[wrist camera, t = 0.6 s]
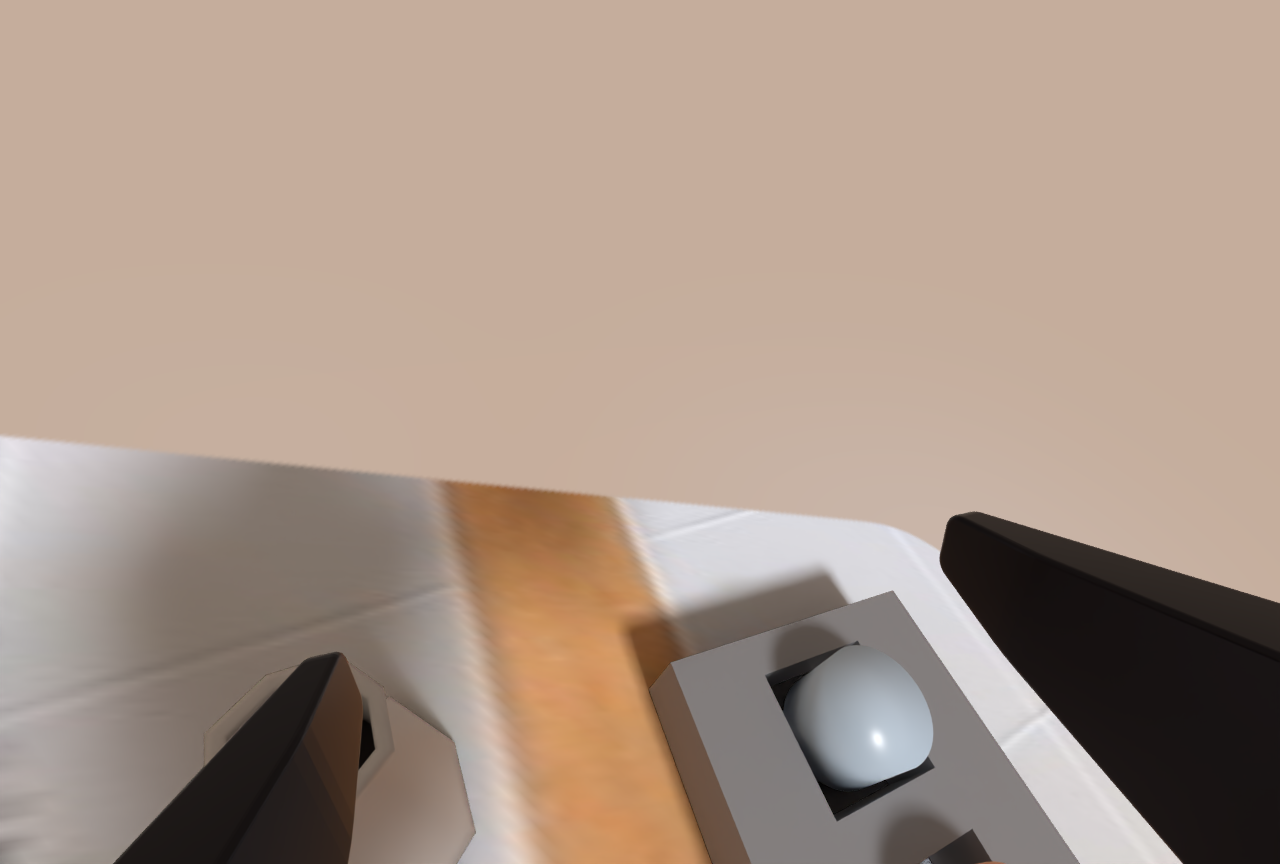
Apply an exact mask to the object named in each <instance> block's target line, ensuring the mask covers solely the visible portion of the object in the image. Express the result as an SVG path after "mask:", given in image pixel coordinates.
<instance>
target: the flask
mask: <svg viewBox="0 0 1280 864" xmlns="http://www.w3.org/2000/svg"><path fill="white" fill-rule="evenodd" d="M348 664H349V666H350V669H351V671H352V674H353V676H354V679H355V681H356V684H357V686H358V689H359V691H360V694H361V698H362V704H363V719H362V731H361V743H360V755H359V767H358V779H357V791H356V803H355V815H354V825H353V835H352V843H351V849H350V855H349V861H348V864H457V863H458V861H459V859H460V858H461V856H462V854H463V853H464V851H465V850H466V848H467V846H468V845H469V843H470V841H471V840H472V838H473V836H474V835H475V833H476V831H475V827H474V822H473V818H472V814H471V810H470V806H469V801H468V797H467V793H466V789H465V784H464V780H463V776H462V772H461V767H460V763H459V759H458V755H457V751H456V746H455V742H454V741H452V740H451V739H449V738H448V737H447V736H445V735H444V734H442V733H441V732H439V731H438V730H437V729H435V728H434V727H432V726H431V725H430V724H428V723H427V722H425V721H424V720H423V719H421V718H420V717H418V716H417V715H415V714H414V713H413V712H411V711H410V710H408V709H407V708H406V707H404V706H403V705H401V704H400V703H398V702H397V701H396V700H394V699H393V698H391V697H388V698H386V696H385V690H384V687H383V686H381V685H380V684H379V683H377V682H376V681H374V680H373V679H372V678H370V677H369V676H367V675H366V674H364V673H363V672H362V671H360V670H359V669H357V668H356V667H355V666H353V665H352V664H350V663H349V662H348ZM298 666H299V665H297V666H294V667H291V668H287V669H284V670H281V671H277V672H274V673H271V674H268V675H265V676H264V677H263V678H262V679H261V680H260V681H259V682H258V683H257V684H256V685H255V686H254V687H253V688H252V689H251V690H250V691H249V692H248V693H246V694H245V695H244V696H243V697H242V698H241V699H240V700H239V701H238V702H237V703H236V704H235V705H234V706H233V707H232V708H231V709H230V710H229V711H228V712H227V713H225V714H224V715H223V716H222V717H221V718H220V719H219V720H218V721H217V722H216V723H215V724H214V725H213V726H212V727H211V728H210V729H209V730H208V731H207V732H206V733H204V766H205V765H206V764H207V763H208V762H209V761H210V760H211V759H212V758H213V757H214V755H215V754H216V753H217V752H218V751H219V750H220V749H221V748H222V747H223V746H224V745H225V744H226V743H227V742H228V741H229V739H230V738H231V737H232V736H233V735H234V734H235V733H236V732H237V731H238V730H239V729H240V728H241V727H242V726H243V725H244V723H245V722H246V721H247V720H248V719H249V718H250V717H251V716H252V715H253V714H254V713H255V712H256V711H257V710H258V709H259V707H260V706H261V705H262V704H263V703H264V702H265V701H266V700H267V699H268V698H269V697H270V696H271V695H272V694H273V692H274V691H275V690H276V689H277V688H278V687H279V686H280V685H281V684H282V683H283V682H284V681H285V680H286V679H287V678H288V676H289V675H290V674H291V673H292V672H293V671H294V670H295V669H296V668H297V667H298Z"/></svg>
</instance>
